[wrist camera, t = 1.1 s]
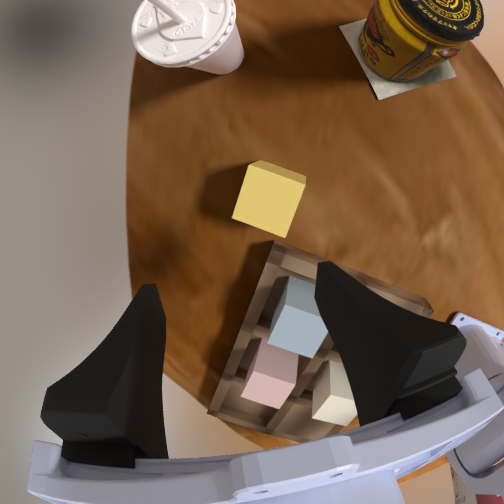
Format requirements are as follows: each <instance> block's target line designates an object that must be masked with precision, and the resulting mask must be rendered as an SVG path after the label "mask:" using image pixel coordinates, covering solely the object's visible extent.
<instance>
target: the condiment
mask: <svg viewBox="0 0 504 504" xmlns="http://www.w3.org/2000/svg"><path fill="white" fill-rule="evenodd" d="M483 25H484V14H483V8H482V4H481V2H480V0H376V1H375V3H374V5H373V7H372V8H371V10H370V13H369V15H368V17H367V19H363V20H360V21H356V22H352V23H349V24H346V25H342V26H339V28H340V30H341V31H342V33H343V34H344V36H345V38H346V40H347V41H348V43H349V45H350V47H351V48H352V50H353V52H354V54H355V55H356V57H357V59H358V61H359V63H360V64H361V66H362V68H363V70H364V72H365V74H366V76H367V78H368V79H369V81H370V83H371V85H372V87H373V89H374V91H375V93H376V95H377V97H378V99H379V100H381V99H384V98H387V97H390V96H393V95H396V94H399V93H402V92H405V91H409V90H412V89H415V88H418V87H422V86H425V85H428V84H432V83H435V82H439V81H442V80H446V79H450V78H454V77H457V76H456V74H455V72H454V70H453V68H452V67H451V65H450V63H449V61H448V59H451V58H452V57H454V56H456V55H458V54H459V53H461V52H462V51H463V50H464V49H465V47H466V46H467V44H468V42H469V40H471V39H474V38H475V37H476V36H479V33H480V32H481V30H482V28H483Z"/></svg>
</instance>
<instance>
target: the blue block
mask: <svg viewBox="0 0 504 504" xmlns="http://www.w3.org/2000/svg"><path fill="white" fill-rule="evenodd" d="M314 294H315V285H314V284H311V283H308V282H305V281H303V280H300V279H297V278H295V277H292V276H289V278H288V281H287V283H286V285H285V287H284V290H283V292H282V294H281V297H280V299H279V301H278V304H277V306H276V308H275V310H274V314H273V319H272V323H271V328H270V332H269V336H268V341H267V343H268V344H271V345H274V346H277V347H279V348H282V349H285V350H288V351H291V352H294V353H297V354H300V355H303V356H306V357H309V358H313V357H314V355H315V353H316V352H317V350H318V348H319V347H320V345H321V343H322V342H323V340H324V338H325V336H326V335H327V333H328V330H327V328H326V326H325V324H324V322H323V320H322V318H321V316H320V313H319V310H318V307H317V304H316V301H315V298H314Z"/></svg>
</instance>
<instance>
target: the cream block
mask: <svg viewBox="0 0 504 504" xmlns="http://www.w3.org/2000/svg"><path fill="white" fill-rule="evenodd" d="M356 415H357V410H356V406H355V402H354V398H353V395H352V391H351V388H350V384H349V381H348V378H347V375H346V372H345V369H344V366H343V364H340V363H337V362H333V361H330V360H329V362H328V363H327V365H326V366H325V368H324V369H323V371H322V372H321V374H320V375H319V377H318V378H317V380H316V381H315V383H314V384H313V404H312V418H313V419H317V420H321V421H325V422H330V423H334V424H339V425H343V426H347V425H348V424H349V423H350V422H351V421H352V420H353V418H354V417H355V416H356Z"/></svg>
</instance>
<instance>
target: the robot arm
mask: <svg viewBox="0 0 504 504" xmlns="http://www.w3.org/2000/svg"><path fill="white" fill-rule="evenodd" d="M314 298H315V301H316V304H317V307H318V310H319V313H320V316H321V318H322V320H323V322H324V324H325V326H326V328H327V330H328V332H329V334H330V336H331V338H332V341H333V343H334V345H335V347H336V349H337V351H338V353H339V355H340V358H341V360H342V363H343V366H344V369H345V372H346V375H347V378H348V381H349V384H350V388H351V391H352V395H353V398H354V402H355V406H356V410H357V414H358V419H359V424H360V427H358V428H354V429H351V430H348V431H345V432H341V433H338V434H334V435H330V436H327V437H323V438H319V439H315V440H311V441H307V442H302V443H298V444H293V445H289V446H284V447H278V448H273V449H267V450H261V451H255V452H248V453H241V454H233V455H225V456H214V457H200V458H182V459H169V457H168V451H167V445H166V437H165V427H164V417H163V403H162V374H163V364H164V354H165V344H166V316H165V313H164V310H163V307H162V303H161V300H160V297H159V294H158V290H157V287H156V284H155V283H154V284H145V285H142V286H141V287H140V289H139V290H138V292H137V294H136V295H135V297H134V298H133V300H132V301H131V303H130V304H129V306H128V308H127V309H126V311H125V312H124V314H123V315H122V317H121V318H120V319H119V321H118V322H117V324H116V325H115V326H114V328H113V329H112V330H111V332H110V333H109V334H108V335H107V337H106V338H105V339H104V340H103V341H102V342H101V344H100V345H99V346H98V347H97V348H96V349H95V350H94V351H93V352H92V353H91V354H90V355H89V356H88V357H87V358H86V359H85V360H84V361H83V362H82V363H81V364H79V365H78V366H77V367H76V368H75V369H73V370H72V371H71V372H70V373H68V374H67V375H66V376H64V377H63V378H61V379H60V380H59V381H57V382H56V383H54V384H53V385H51V386H50V387H48V388H47V391H46V394H45V398H44V402H43V406H42V410H41V419H42V421H43V422H44V424H45V425H46V426H47V427H48V428H49V429H51V430H52V431H53V432H54V433H55V434H57V435H58V436H59V437H60V438H62V439H63V445H62V446H60V445H57V444H54V443H49V442H44V441H39V440H35V441H34V444H33V449H32V455H31V462H30V469H29V476H28V485H27V491H28V492H30V493H31V494H33V495H36V496H38V497H40V498H42V499H44V500H46V501H49V502H51V503H53V504H405V502H404V499H403V496H402V494H401V491H400V489H399V486H398V483H397V481H396V480H397V479H399V478H401V477H403V476H405V475H407V474H409V473H411V472H413V471H415V470H417V469H419V468H421V467H422V466H424V465H426V464H428V463H430V462H431V461H433V460H435V459H437V458H438V457H440V456H442V455H444V454H445V453H446V455H447V458H448V461H449V463H450V465H451V467H452V468H453V470H454V471H455V472H456V473H457V474H458V475H459V476H460V477H461V478H462V480H463V481H464V483H465V484H466V486H467V488H468V489H469V490H470V492H471V493H473V494H492V495H501V496H502V498H503V501H504V460H503V461H502V462H500V463H498V464H497V465H494V466H492V465H493V464H495V463H496V462H498V461H499V460H500V459H502V458H503V457H504V343H503V342H502V339H503V337H504V331H503V330H501V329H498V328H496V327H494V326H491V325H489V324H487V323H484V322H482V321H480V320H477V319H475V318H473V317H470V316H468V315H465V314H463V313H461V312H458V313H456V314H455V316H454V317H453V319H452V321H451V322H450V324H448V323H444V322H440V321H436V320H433V319H430V318H427V317H424V316H421V315H419V314H416V313H414V312H411V311H409V310H407V309H404V308H402V307H400V306H398V305H396V304H394V303H392V302H390V301H389V300H387V299H385V298H383V297H381V296H380V295H378V294H377V293H375V292H373V291H372V290H370V289H369V288H367V287H366V286H364V285H363V284H362V283H360V282H359V281H357V280H356V279H355V278H353V277H352V276H350V275H349V274H348V273H346V272H345V271H344V270H342V269H341V268H340V267H338V266H337V265H336V264H334V263H333V262H331V261H325V262H318V265H317V275H316V285H315V294H314ZM462 317H463V318H462ZM461 318H462V319H461ZM497 332H498V333H497Z"/></svg>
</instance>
